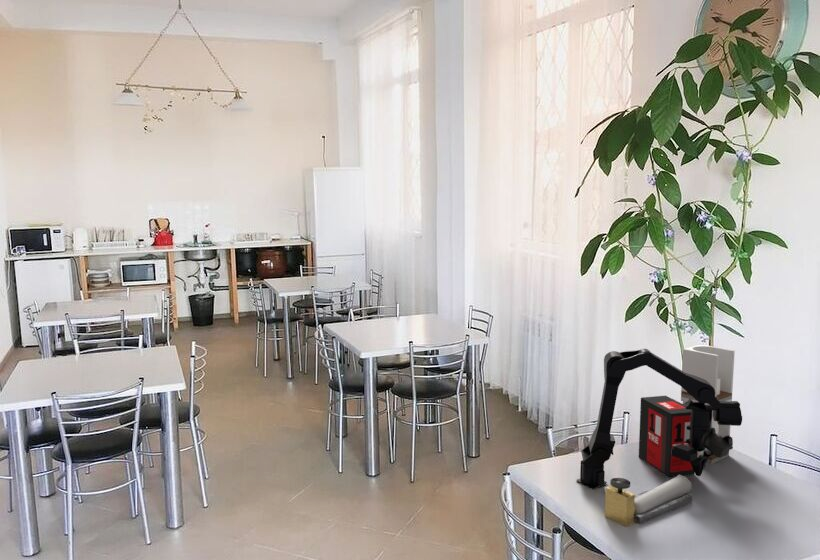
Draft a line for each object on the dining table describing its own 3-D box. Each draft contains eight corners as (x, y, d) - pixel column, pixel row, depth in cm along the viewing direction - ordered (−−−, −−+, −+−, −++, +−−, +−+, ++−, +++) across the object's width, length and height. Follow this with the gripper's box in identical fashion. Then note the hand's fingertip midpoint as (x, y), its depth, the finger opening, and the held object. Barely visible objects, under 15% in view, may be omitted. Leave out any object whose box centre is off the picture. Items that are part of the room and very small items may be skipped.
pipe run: (599, 515, 186) (600, 477, 185) (663, 491, 201) (665, 455, 200) (626, 529, 179) (628, 490, 177) (692, 503, 193) (693, 466, 192)
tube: (644, 509, 182) (694, 482, 197) (627, 496, 185) (677, 471, 201) (637, 525, 184) (687, 497, 199) (621, 512, 187) (671, 485, 203)
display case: (678, 453, 229) (683, 349, 225) (696, 445, 236) (701, 344, 231) (711, 463, 220) (716, 355, 216) (728, 455, 227) (734, 350, 222)
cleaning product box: (638, 457, 226) (640, 397, 223) (663, 454, 228) (665, 395, 226) (668, 477, 210) (671, 413, 208) (694, 474, 212) (697, 411, 210)
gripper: (706, 438, 188) (703, 493, 190) (746, 425, 198) (743, 477, 200) (670, 427, 197) (668, 479, 199) (710, 414, 207) (708, 465, 209)
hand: (698, 475), depth 202 cm, fingers closed
